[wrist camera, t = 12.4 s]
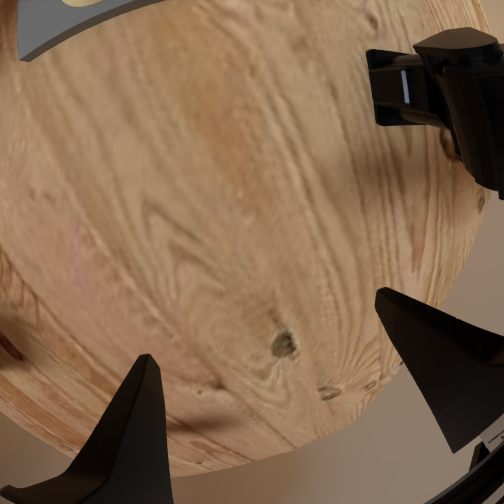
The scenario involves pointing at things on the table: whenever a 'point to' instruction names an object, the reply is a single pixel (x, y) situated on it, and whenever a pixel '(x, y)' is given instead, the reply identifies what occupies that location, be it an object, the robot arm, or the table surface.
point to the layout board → (63, 20)
